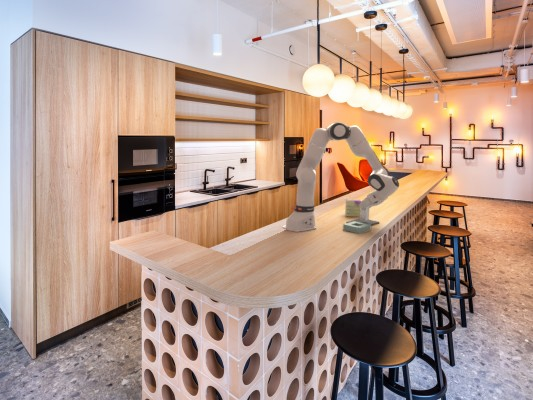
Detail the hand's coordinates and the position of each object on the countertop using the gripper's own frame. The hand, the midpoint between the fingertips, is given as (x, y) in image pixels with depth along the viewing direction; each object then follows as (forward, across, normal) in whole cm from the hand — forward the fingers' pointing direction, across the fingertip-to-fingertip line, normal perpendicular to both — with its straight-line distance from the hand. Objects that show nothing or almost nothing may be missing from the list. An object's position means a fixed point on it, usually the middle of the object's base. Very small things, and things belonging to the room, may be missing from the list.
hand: (364, 209), depth 221 cm
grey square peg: (+4, 0, +5) cm, 7 cm away
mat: (+7, 0, +7) cm, 10 cm away
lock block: (+2, +17, +12) cm, 21 cm away
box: (+20, -14, -6) cm, 25 cm away
